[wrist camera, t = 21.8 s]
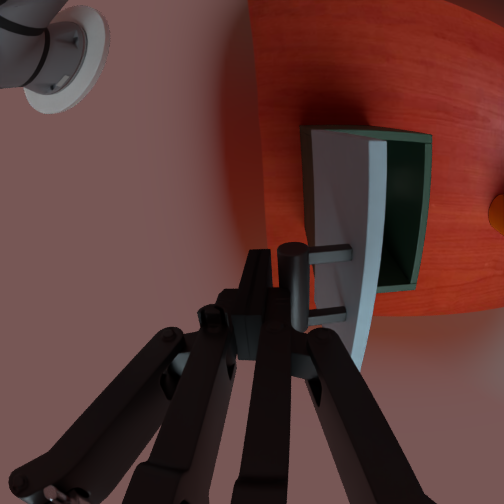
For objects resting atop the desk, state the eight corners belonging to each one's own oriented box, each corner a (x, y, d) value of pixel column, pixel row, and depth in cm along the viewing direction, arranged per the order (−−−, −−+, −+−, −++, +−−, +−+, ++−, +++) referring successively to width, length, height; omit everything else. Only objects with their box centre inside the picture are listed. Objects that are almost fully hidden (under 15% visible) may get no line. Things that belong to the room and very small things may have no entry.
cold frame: (370, 125, 36) (432, 134, 19) (369, 224, 43) (415, 289, 26) (299, 125, 37) (315, 129, 21) (304, 226, 44) (317, 297, 27)
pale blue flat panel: (387, 140, 10) (271, 142, 10) (353, 395, 17) (285, 404, 17) (321, 129, 20) (261, 132, 20) (322, 299, 27) (275, 304, 27)
